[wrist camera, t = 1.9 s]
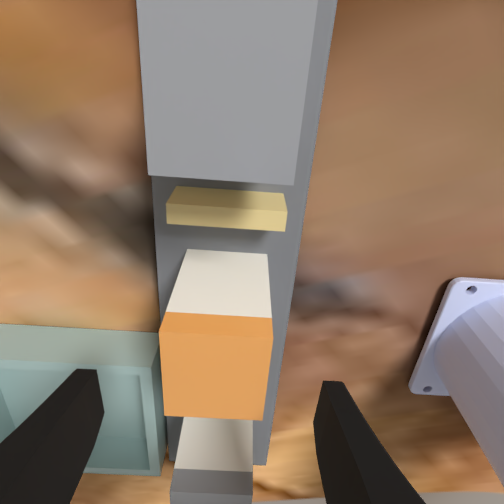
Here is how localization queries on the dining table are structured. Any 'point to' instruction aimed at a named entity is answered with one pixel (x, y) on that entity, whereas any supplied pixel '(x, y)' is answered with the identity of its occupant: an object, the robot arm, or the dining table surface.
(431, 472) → the dining table surface
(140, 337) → the tray
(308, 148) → the block
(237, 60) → the block
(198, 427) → the block
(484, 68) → the dining table surface
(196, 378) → the block
